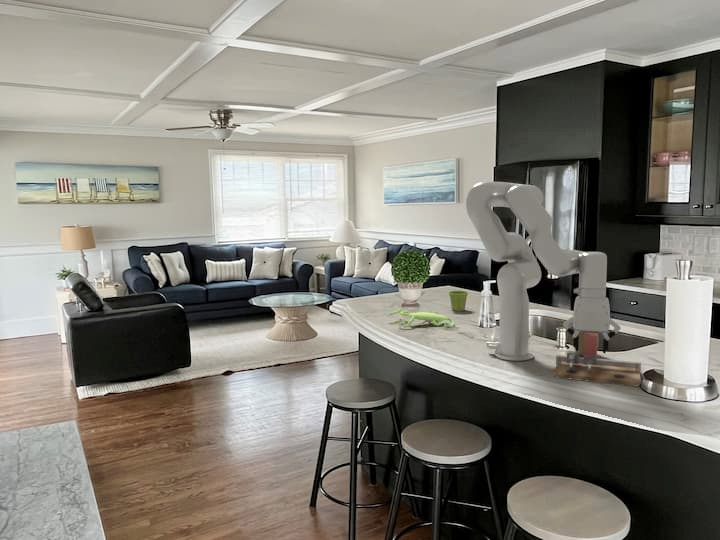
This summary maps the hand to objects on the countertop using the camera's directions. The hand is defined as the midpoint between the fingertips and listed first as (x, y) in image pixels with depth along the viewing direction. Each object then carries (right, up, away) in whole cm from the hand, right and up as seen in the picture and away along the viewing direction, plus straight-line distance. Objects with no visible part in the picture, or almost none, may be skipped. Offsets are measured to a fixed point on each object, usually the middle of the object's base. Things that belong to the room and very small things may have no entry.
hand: (590, 350), depth 170 cm
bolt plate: (+1, -7, -3) cm, 7 cm away
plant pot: (-23, +5, +98) cm, 100 cm away
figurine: (-44, +1, +70) cm, 83 cm away
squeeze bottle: (+6, -4, +18) cm, 20 cm away
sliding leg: (-1, -5, -2) cm, 5 cm away
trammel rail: (+1, -5, -3) cm, 6 cm away
